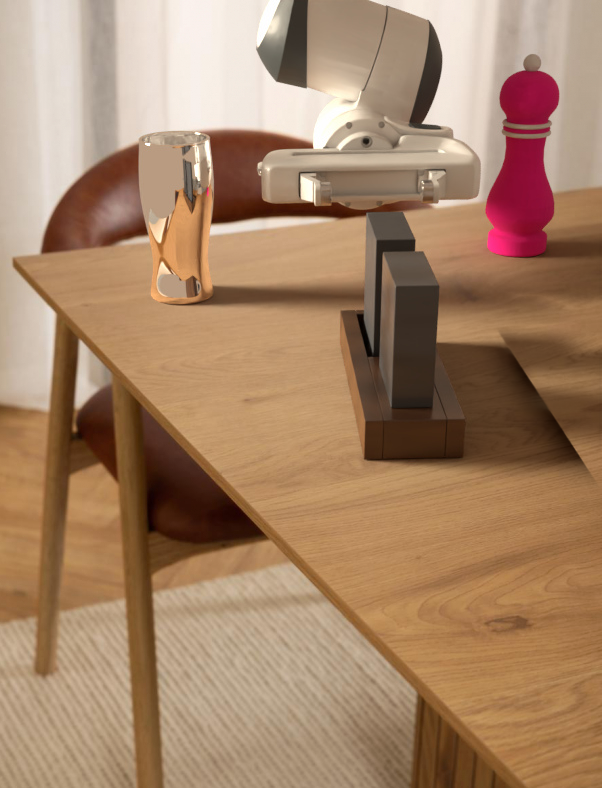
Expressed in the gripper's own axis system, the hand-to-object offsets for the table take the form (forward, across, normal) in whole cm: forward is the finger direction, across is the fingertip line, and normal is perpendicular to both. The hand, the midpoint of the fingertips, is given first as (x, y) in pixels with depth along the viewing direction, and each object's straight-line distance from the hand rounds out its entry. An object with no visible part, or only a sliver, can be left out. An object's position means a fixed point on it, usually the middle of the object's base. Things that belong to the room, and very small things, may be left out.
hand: (377, 195), depth 104 cm
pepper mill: (-21, +18, +12) cm, 30 cm away
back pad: (+12, 0, +11) cm, 16 cm away
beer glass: (-8, -18, +12) cm, 23 cm away
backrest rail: (+17, 0, +11) cm, 21 cm away
